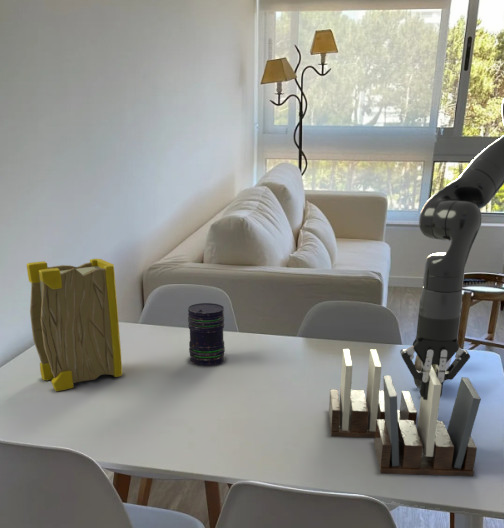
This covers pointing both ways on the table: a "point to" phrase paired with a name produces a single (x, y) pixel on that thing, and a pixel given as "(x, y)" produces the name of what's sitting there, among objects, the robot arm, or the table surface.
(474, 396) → the grey book
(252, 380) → the table surface
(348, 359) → the ivory book
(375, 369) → the ivory book
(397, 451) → the grey book
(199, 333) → the black barrel
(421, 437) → the ivory book
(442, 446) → the book stands
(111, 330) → the decorative book
